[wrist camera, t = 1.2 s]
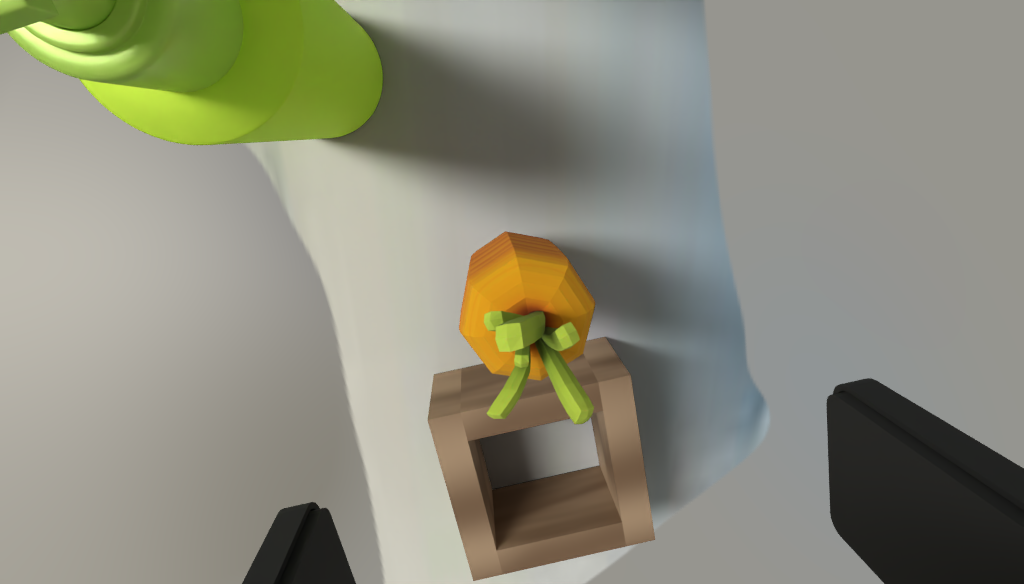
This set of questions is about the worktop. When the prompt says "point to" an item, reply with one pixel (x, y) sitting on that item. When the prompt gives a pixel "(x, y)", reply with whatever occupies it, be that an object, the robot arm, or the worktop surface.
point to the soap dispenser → (210, 64)
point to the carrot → (527, 319)
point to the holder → (549, 501)
